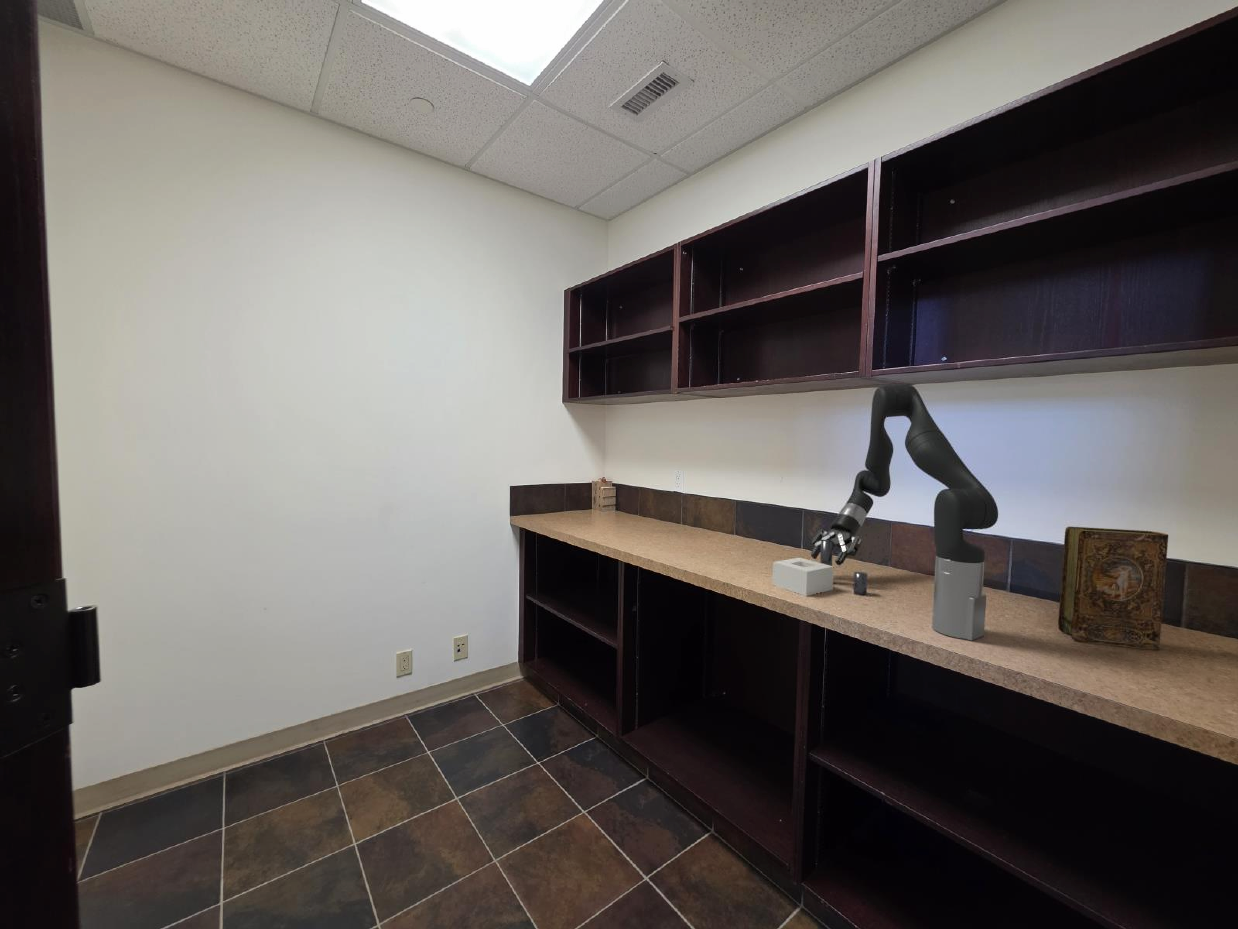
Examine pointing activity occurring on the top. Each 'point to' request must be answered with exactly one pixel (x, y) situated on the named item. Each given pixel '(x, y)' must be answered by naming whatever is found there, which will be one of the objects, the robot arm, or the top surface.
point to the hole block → (803, 576)
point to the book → (1113, 586)
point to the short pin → (860, 583)
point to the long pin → (826, 552)
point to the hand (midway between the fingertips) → (824, 560)
